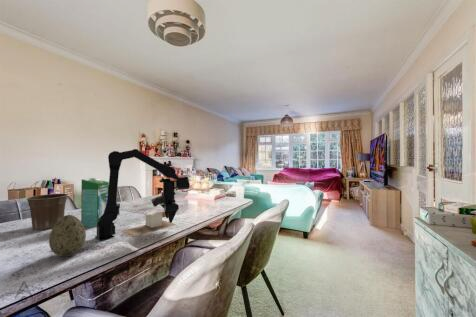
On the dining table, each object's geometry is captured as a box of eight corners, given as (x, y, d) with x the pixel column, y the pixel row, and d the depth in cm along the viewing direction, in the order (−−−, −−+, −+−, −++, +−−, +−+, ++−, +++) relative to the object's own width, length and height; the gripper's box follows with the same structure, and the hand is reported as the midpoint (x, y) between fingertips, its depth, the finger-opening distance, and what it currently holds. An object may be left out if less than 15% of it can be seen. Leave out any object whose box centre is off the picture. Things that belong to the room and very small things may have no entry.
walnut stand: (133, 239, 96) (133, 228, 96) (121, 233, 103) (121, 222, 103) (176, 226, 115) (176, 217, 115) (162, 222, 122) (163, 213, 122)
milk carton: (97, 226, 113) (98, 179, 113) (80, 226, 113) (81, 179, 113) (108, 221, 122) (108, 177, 122) (92, 221, 122) (93, 177, 122)
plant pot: (16, 232, 103) (16, 199, 103) (43, 222, 119) (44, 193, 119) (52, 231, 105) (52, 198, 105) (74, 221, 121) (74, 193, 121)
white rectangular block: (148, 228, 107) (149, 215, 107) (143, 225, 111) (143, 213, 111) (168, 223, 116) (169, 211, 116) (162, 221, 120) (163, 210, 120)
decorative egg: (50, 253, 81) (50, 214, 81) (84, 246, 88) (85, 210, 88) (47, 265, 73) (48, 221, 72) (86, 256, 79) (86, 216, 79)
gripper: (150, 189, 116) (150, 217, 116) (154, 194, 99) (154, 227, 99) (171, 187, 121) (171, 215, 121) (178, 192, 104) (178, 224, 105)
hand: (168, 220), depth 111 cm, fingers open, 9 cm apart
